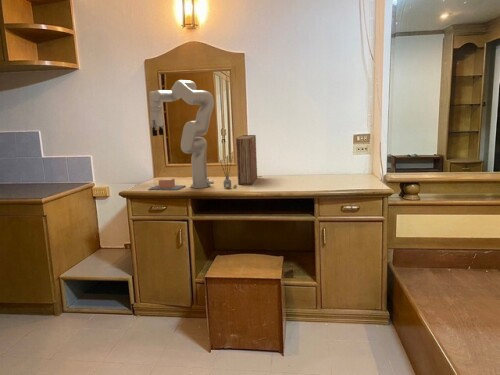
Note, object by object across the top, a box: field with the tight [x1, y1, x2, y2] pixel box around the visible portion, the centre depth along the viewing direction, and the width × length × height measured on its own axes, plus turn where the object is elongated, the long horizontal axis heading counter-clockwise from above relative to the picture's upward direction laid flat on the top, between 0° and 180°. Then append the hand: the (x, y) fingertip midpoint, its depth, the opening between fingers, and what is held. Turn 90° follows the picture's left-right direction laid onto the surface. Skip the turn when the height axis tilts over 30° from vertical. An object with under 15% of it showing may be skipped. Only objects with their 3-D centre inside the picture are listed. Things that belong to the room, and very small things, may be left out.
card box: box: [158, 178, 176, 188], centre depth 248 cm, size 6×8×5 cm, turn 81°
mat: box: [148, 184, 186, 191], centre depth 248 cm, size 20×12×1 cm, turn 77°
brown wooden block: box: [235, 134, 258, 186], centre depth 259 cm, size 25×9×30 cm, turn 171°
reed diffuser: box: [218, 155, 238, 189], centre depth 240 cm, size 10×7×20 cm
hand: (158, 135), depth 267 cm, fingers open, 9 cm apart
